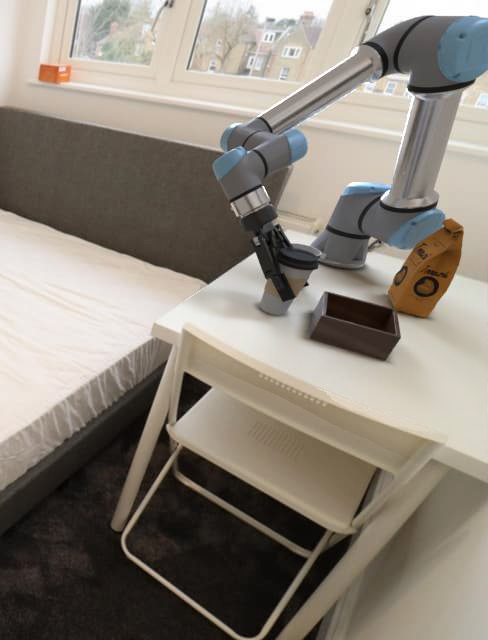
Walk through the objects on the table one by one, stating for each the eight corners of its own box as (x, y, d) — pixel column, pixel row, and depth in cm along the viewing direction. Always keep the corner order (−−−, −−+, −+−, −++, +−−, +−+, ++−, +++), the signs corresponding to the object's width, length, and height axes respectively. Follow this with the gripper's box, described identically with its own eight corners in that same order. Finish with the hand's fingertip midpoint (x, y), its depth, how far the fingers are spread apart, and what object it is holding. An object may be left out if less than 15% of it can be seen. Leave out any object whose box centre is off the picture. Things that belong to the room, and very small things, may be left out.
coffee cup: (259, 297, 132) (284, 243, 124) (298, 310, 127) (327, 255, 118) (246, 308, 127) (271, 252, 118) (286, 323, 121) (315, 265, 113)
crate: (313, 312, 127) (324, 290, 123) (382, 331, 120) (397, 309, 117) (309, 338, 116) (321, 315, 112) (385, 361, 110) (401, 337, 106)
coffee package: (384, 309, 130) (436, 227, 117) (381, 292, 139) (429, 213, 126) (432, 321, 126) (491, 237, 113) (426, 302, 134) (480, 222, 122)
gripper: (255, 210, 131) (293, 286, 131) (221, 228, 118) (264, 313, 118) (285, 194, 125) (326, 274, 125) (253, 212, 112) (298, 301, 112)
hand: (296, 293), depth 122 cm, fingers closed on coffee cup, 9 cm apart
